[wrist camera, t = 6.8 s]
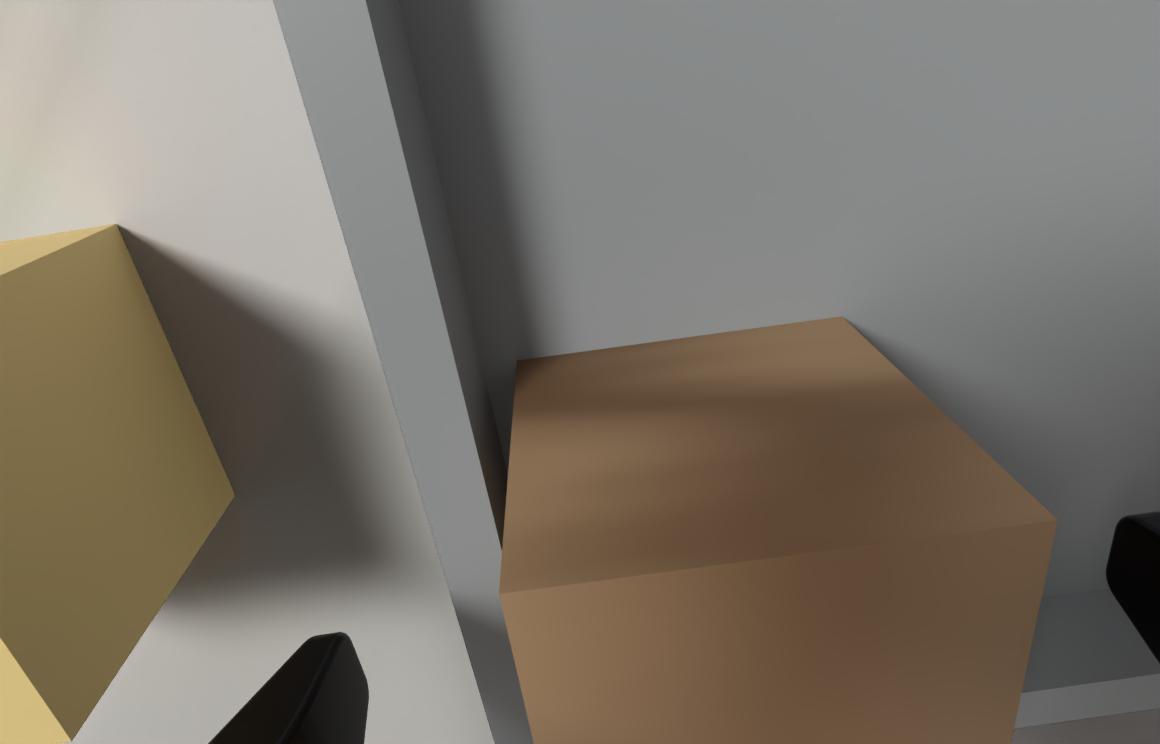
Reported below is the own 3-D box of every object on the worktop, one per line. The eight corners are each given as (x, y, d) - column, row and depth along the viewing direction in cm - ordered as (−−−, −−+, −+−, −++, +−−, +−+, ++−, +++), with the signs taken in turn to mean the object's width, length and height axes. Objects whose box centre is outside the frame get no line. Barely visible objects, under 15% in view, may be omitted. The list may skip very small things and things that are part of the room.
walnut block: (561, 605, 12) (571, 908, 8) (516, 361, 10) (497, 594, 6) (832, 569, 12) (987, 856, 8) (841, 316, 10) (1058, 520, 6)
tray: (516, 670, 13) (511, 800, 11) (195, -564, 6) (8, -885, 4) (1259, 563, 13) (1407, 672, 11) (1758, -846, 6) (2458, -1351, 4)
